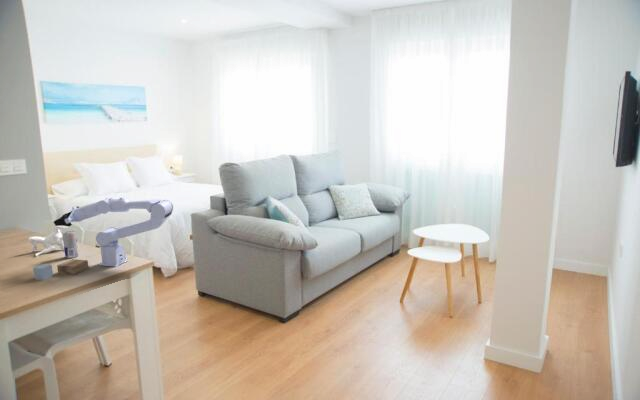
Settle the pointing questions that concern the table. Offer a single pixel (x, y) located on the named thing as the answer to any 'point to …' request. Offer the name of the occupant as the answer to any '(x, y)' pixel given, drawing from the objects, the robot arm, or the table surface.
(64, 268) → the walnut block
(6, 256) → the table surface
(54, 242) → the person figurine
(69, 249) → the energy drink
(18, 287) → the table surface
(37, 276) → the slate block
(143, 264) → the table surface
